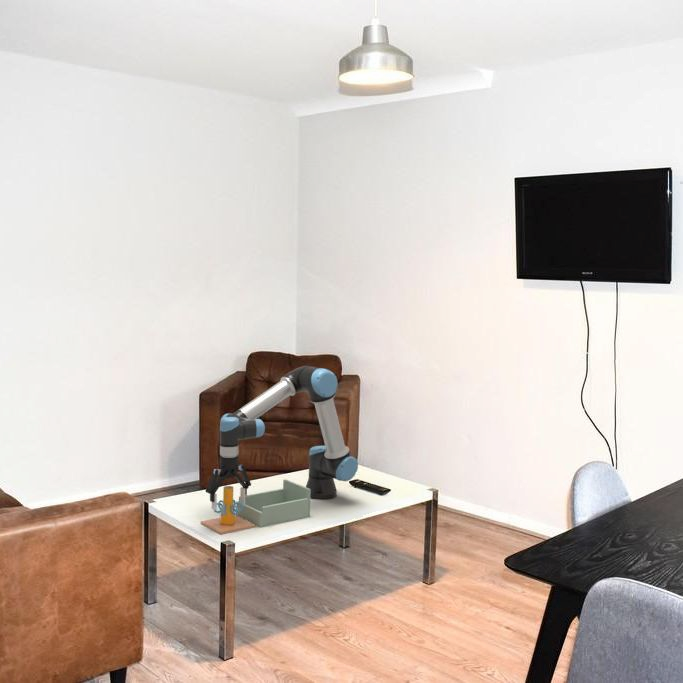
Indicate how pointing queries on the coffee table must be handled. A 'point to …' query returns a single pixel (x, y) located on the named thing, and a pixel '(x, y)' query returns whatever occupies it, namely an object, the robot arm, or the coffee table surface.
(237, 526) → the terracotta tile
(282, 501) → the box
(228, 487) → the orange tube
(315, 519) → the coffee table surface
